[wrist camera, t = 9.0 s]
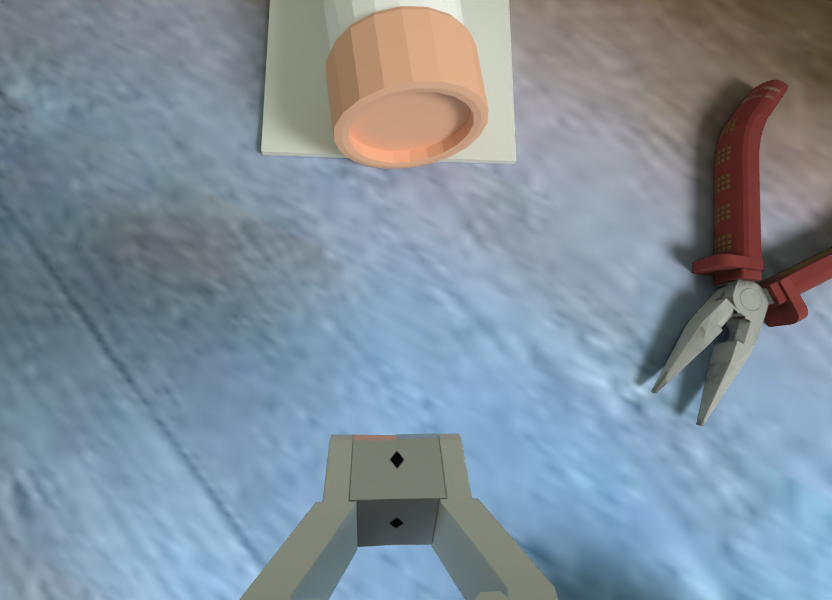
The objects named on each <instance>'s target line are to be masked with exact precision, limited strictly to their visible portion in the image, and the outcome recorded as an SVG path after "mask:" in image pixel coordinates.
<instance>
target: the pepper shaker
mask: <svg viewBox="0 0 832 600" xmlns="http://www.w3.org/2000/svg"><path fill="white" fill-rule="evenodd" d="M324 13H325V20H326V26H327V32H328V38H329V44H330V50H331V52H330V54H329V56H328V58H327V61H326V81H327V89H328V97H329V105H330V113H331V121H332V129H333V137H334V142H335V144H336V145H337V147H338V149H339V150H340V152H341V153H342V154H344V155H345V156H347V157H348V158H350V159H351V160H353V161H354V162H357V163H361V164H364V165H367V166H370V167H378V168H387V169H396V168H412V167H417V166H422V165H427V164H431V163H434V162H437V161H440V160H443V159H445V158H448V157H451V156H453V155H454V154H456V153H458V152H460V151H461V150H463V149H465V148H467V147H468V146H469V145H470V144H471V143H473V142H474V141H475V140H476V139H477V138H478V137H479V136H480V135H481V133H482V132H483V130H484V128H485V127H486V125H487V123H488V105H487V99H486V94H485V89H484V83H483V78H482V73H481V68H480V62H479V57H478V52H477V46H476V44H475V42H474V40H473V38H472V36H471V34H470V32H469V30H468V29H467V28H466V27H465V26H464V23H463V16H462V10H461V3H460V0H324Z"/></svg>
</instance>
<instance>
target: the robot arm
mask: <svg viewBox="0 0 832 600" xmlns="http://www.w3.org/2000/svg"><path fill="white" fill-rule="evenodd" d="M382 545H432V547H433V549H434V551H435V552H436V554H437V555H438V557H439V559H440V560H441V562H442V563H443V565H444V567H445V568H446V570H447V572H448V573H449V575H450V576H451V578H452V580H453V581H454V583H455V584H456V586H457V588H458V589H459V591H460V592H461V594H462V596H463V597H464V599H465V600H558V597H557V593H556V590H555V587H554V586H553V585H552V584H551V582H550V581H549V580H548V579H547V578H546V577H545V575H544V574H543V573H542V572H541V571H540V570H539V568H538V567H537V566H536V565H535V564H534V563H533V561H532V560H531V559H530V558H529V557H528V556H527V555H526V553H525V552H524V551H523V550H522V549H521V548H520V546H519V545H518V544H517V543H516V542H515V541H514V539H513V538H512V537H511V536H510V535H509V534H508V532H507V531H506V530H505V529H504V528H503V527H502V525H501V524H500V523H499V522H498V521H497V520H496V519H495V517H494V516H493V515H492V514H491V513H490V512H489V510H488V509H487V508H486V507H485V506H484V505H483V503H482V502H481V501H480V500H479V499H475V498H472V496H471V491H470V485H469V479H468V474H467V468H466V463H465V457H464V451H463V446H462V440H461V437H460V435H459V434H438V435H437V434H397V435H331V438H330V441H329V450H328V459H327V467H326V476H325V485H324V493H323V502H316V503H315V504H314V505H313V506H312V508H311V509H310V510H309V511H308V513H307V514H306V515H305V517H304V518H303V519H302V520H301V522H300V523H299V524H298V526H297V527H296V528H295V529H294V531H293V532H292V533H291V534H290V536H289V537H288V538H287V540H286V541H285V542H284V543H283V545H282V546H281V547H280V548H279V550H278V551H277V552H276V554H275V555H274V556H273V557H272V559H271V560H270V561H269V563H268V564H267V565H266V566H265V568H264V569H263V570H262V571H261V573H260V574H259V575H258V577H257V578H256V579H255V580H254V582H253V583H252V584H251V585H250V587H249V588H248V589H247V591H246V592H245V593H244V594H243V596H242V597H241V598H240V600H329V598H330V596H331V595H332V593H333V591H334V589H335V588H336V586H337V584H338V582H339V581H340V579H341V577H342V575H343V574H344V572H345V570H346V568H347V567H348V565H349V563H350V561H351V560H352V558H353V556H354V554H355V553H356V551H357V547H365V546H382Z"/></svg>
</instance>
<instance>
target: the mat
mask: <svg viewBox="0 0 832 600" xmlns="http://www.w3.org/2000/svg"><path fill="white" fill-rule="evenodd" d="M460 3H461V10H462V16H463V23H464V26H465V27H466V28H467V29H468V30H469V32H470V34H471V36H472V38H473V40H474V42H475V44H476V46H477V52H478V57H479V62H480V68H481V73H482V78H483V83H484V89H485V94H486V99H487V105H488V123H487V125H486V127H485V128H484V130H483V132H482V133H481V135H480V136H479V137H478V138H477V139H476V140H475V141H474V142H473V143H471V144H470V145H469V146H468V147H467V148H465V149H463V150H461V151H460V152H458V153H456V154H454V155H453V156H451V157H448V158H445V159H443V160H440V161H437V162H463V163H490V164H515V162H516V146H515V124H514V102H513V79H512V57H511V35H510V13H509V0H460ZM330 52H331V50H330V44H329V38H328V32H327V26H326V20H325V13H324V0H270V11H269V28H268V44H267V61H266V78H265V95H264V112H263V129H262V145H261V152H262V154H263V155H276V156H303V157H329V158H348V157H347V156H345V155H344V154H342V153H341V152H340V150H339V149H338V147H337V145H336V144H335V142H334V137H333V129H332V121H331V113H330V105H329V97H328V89H327V81H326V61H327V58H328V56H329V54H330Z"/></svg>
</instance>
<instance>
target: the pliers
mask: <svg viewBox="0 0 832 600" xmlns="http://www.w3.org/2000/svg"><path fill="white" fill-rule="evenodd" d="M787 89H788V85H787V84H786V83H784V82H782V81H779V80H771V81H767V82H765V83H762V84H760V85H758V86H757V87H755V88H754V89H753V90H752V91H750V92H749V94H748V95H747V96H746V97H745V99H744V100H743V102H742V103H741V104H740V106H739V107H738V109H737V110H736V111H735V113H734V114H733V115H732V117H731V118H730V120H729V121H728V122H727V124H726V125H725V127H724V128H723V130H722V132H721V134H720V137H719V140H718V143H717V148H716V153H715V160H714V255H712V256H709V257H706V258H703V259H700V260H698V261H695V262H693V273H695V274H702V275H709V276H713V285H715V286H721V288H719V289H717V290H716V292H715V293H714V294H713V295H712V296H711V297H710V298H709V299H708V300H707V301H706V302H705V304H704V305H703V306H702V307H701V308H700V309H699V310H698V311H697V312H696V314H695V315H694V316H693V317H692V318H691V320H690V321H689V322H688V323H687V325H686V327H685V328H684V330H683V332H682V334H681V336H680V338H679V340H678V342H677V343H676V345H675V347H674V349H673V351H672V353H671V355H670V357H669V359H668V361H667V362H666V364H665V366H664V368H663V370H662V372H661V374H660V376H659V378H658V379H657V381H656V383H655V385H654V387H653V389H652V391H651V392H652V393H657V392H658V391H659V390H660V389H661V388H662V387H664V386H665V385H666V384H667V383H668V382H669V381H670V380H671V379H672V378H673V377H674V376H675V375H677V374H678V373H679V372H680V371H681V370H682V369H683V368H684V367H685V366H686V365H687V364H689V363H690V362H691V361H692V360H693V359H694V358H695V357H696V356H697V355H698V354H699V353H701V352H702V351H703V350H704V349H705V348H706V347H707V346H708V345H709V344H710V343H711V342H712V341H713V340H714V339H715V338H716V337H717V336H718V335H719V334H720V333H721V332H722V329H721V327H722V326H723V325H724V324H726V325H727V327H728V329H729V338H728V340H727V341H726V342H718V343H715V346H714V349H713V352H712V355H711V358H710V361H709V365H708V370H707V375H706V380H705V385H704V389H703V394H702V399H701V404H700V409H699V414H698V419H697V423H696V425H699V426H703V425H704V423H705V422H706V420H707V419H708V417H709V416H710V414H711V413H712V411H713V410H714V408H715V407H716V405H717V404H718V402H719V401H720V399H721V398H722V396H723V395H724V393H725V392H726V390H727V389H728V387H729V386H730V384H731V383H732V381H733V380H734V378H735V377H736V375H737V374H738V372H739V371H740V369H741V368H742V366H743V365H744V363H745V362H746V360H747V359H748V357H749V356H750V354H751V352H752V350H753V347H754V345H755V343H756V340H757V338H758V336H759V333H760V330H761V327H762V324H763V321H764V319H765V321H766V323H767V325H768V326H769V327H774V326H782V325H790V324H794V323H796V322H798V321H800V320H802V319H804V318H806V317H807V315H808V309H807V306H806V305H805V303H804V301H803V300H802V298H801V296H800V294H801V293H803V292H805V291H807V290H809V289H811V288H813V287H815V286H817V285H819V284H821V283H823V282H825V281H827V280H829V279H831V278H832V247H831V248H829V249H827V250H825V251H823V252H821V253H819V254H817V255H815V256H813V257H811V258H809V259H807V260H805V261H802V262H800V263H798V264H796V265H794V266H792V267H790V268H788V269H786V270H784V271H782V272H780V273H778V274H776V275H774V276H772V277H770V278H768V279H766V280H764V281H762V270H764V267H763V259H761V224H760V181H759V147H760V140H761V135H762V131H763V128H764V125H765V123H766V121H767V118H768V117H769V116H770V114H771V113H772V111H773V110H774V108H775V107H776V105H777V104H778V103H779V101H780V100H781V98H782V97H783V95H784V94H785V92H786V91H787ZM758 281H762V282H760V283H758V284H756V283H754V282H758Z"/></svg>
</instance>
